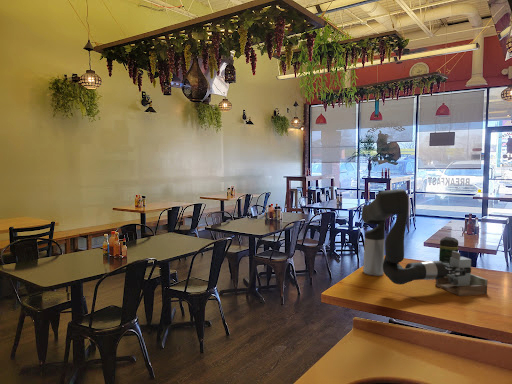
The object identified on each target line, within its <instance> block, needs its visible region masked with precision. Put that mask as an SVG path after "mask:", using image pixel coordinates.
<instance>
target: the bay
mask: <svg viewBox="0 0 512 384" xmlns="http://www.w3.org/2000/svg"><path fill="white" fill-rule="evenodd" d="M448 278H449V276H447V277H444V278H443V279H435V285H434V286H436V287H438V288H441V289H442V290H445V291H446V292H447V291H448V292H449V293H452V294H453V295H456V296H458V297H467V296H477V295H479V296H480V295H487V294H488V279H487V278H484V277H482V276H480V275H479V276H478V275H476V274H473V273H471V274H470V279H471V284H470V285H465V286H456V285H454V284H452V283H449V281H448Z"/></svg>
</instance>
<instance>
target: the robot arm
mask: <svg viewBox="0 0 512 384" xmlns="http://www.w3.org/2000/svg"><path fill="white" fill-rule="evenodd" d="M409 205H410V204H409V196H408V193H407V192H406V190H405V189H402V188H397V189H388V190H381V191H379V192H378V193H377V194H376V196H375V198H374V200H372V201H371V202H370V203H369V204H367V205H364V207H363V208H362V212H361V219H362V221H363V223H365V224H367V225H376V226H375V227H374V228H371V229H370V230H366V231H365V232H364V245H363V246H364V251H363V267H362V269H363V274H366V275H369V276H374V277H375V276H377V277H378V276H383V275H385V276H386V277H387V278H388V280H390V281H391V283H394V284H395V285H405V284H407V283H410V282H412V281H418V280H419V281H420V280H426V281H430V280H436V279H443V278H444V277H445V275H455V277H459V276H465V275H466V273H471V274H472V267H471V268H470V267H468V268H458V267H457V266H451V265H450V264H449V263H442V262H441V261H439V260H429V261H428V260H426V261H420V262H418V261H417V262H409V263H407V264H406V265H405V267H403V266H402V265H401V264H400V263H401V262H402V261H404V259H405V236H406V234H405V233H406V228H407V222H408V213H409ZM391 215H397V217H396V220H395V222H394V224H393V226H392V228H391V229H390V231H389V232H388V234H387V235H386V234H385V232H386V220H387V219H388V218H389V217H390V216H391ZM385 236H386V238H385ZM454 268H455V269H454ZM459 269H460V270H459Z"/></svg>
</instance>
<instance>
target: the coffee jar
mask: <svg viewBox="0 0 512 384" xmlns="http://www.w3.org/2000/svg"><path fill="white" fill-rule="evenodd" d="M452 251H456V252H459V240H458V239H457V238H455V237H450V236H445V237H442V238H440V241H439V255H438V257H439V258H438V261H441V262H442V263H449V264H450V257H452ZM447 276H450V275H445V277H447Z"/></svg>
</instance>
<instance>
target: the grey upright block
mask: <svg viewBox="0 0 512 384" xmlns="http://www.w3.org/2000/svg"><path fill="white" fill-rule="evenodd" d="M450 265H451V266H457V267H458V268H468V267H470V268H471V269H472V259H471V258H469V257H465V256H461V252H459V251H458V252H456V251H452V257H450ZM454 269H455V268H454ZM459 270H460V269H459ZM470 274H472V272H471V273H466V275H465V276H459V277H455V275H450V276H449V278H448V281H449V283H452V284H454V285H456V286H465V285H470V284H471V279H470Z"/></svg>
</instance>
